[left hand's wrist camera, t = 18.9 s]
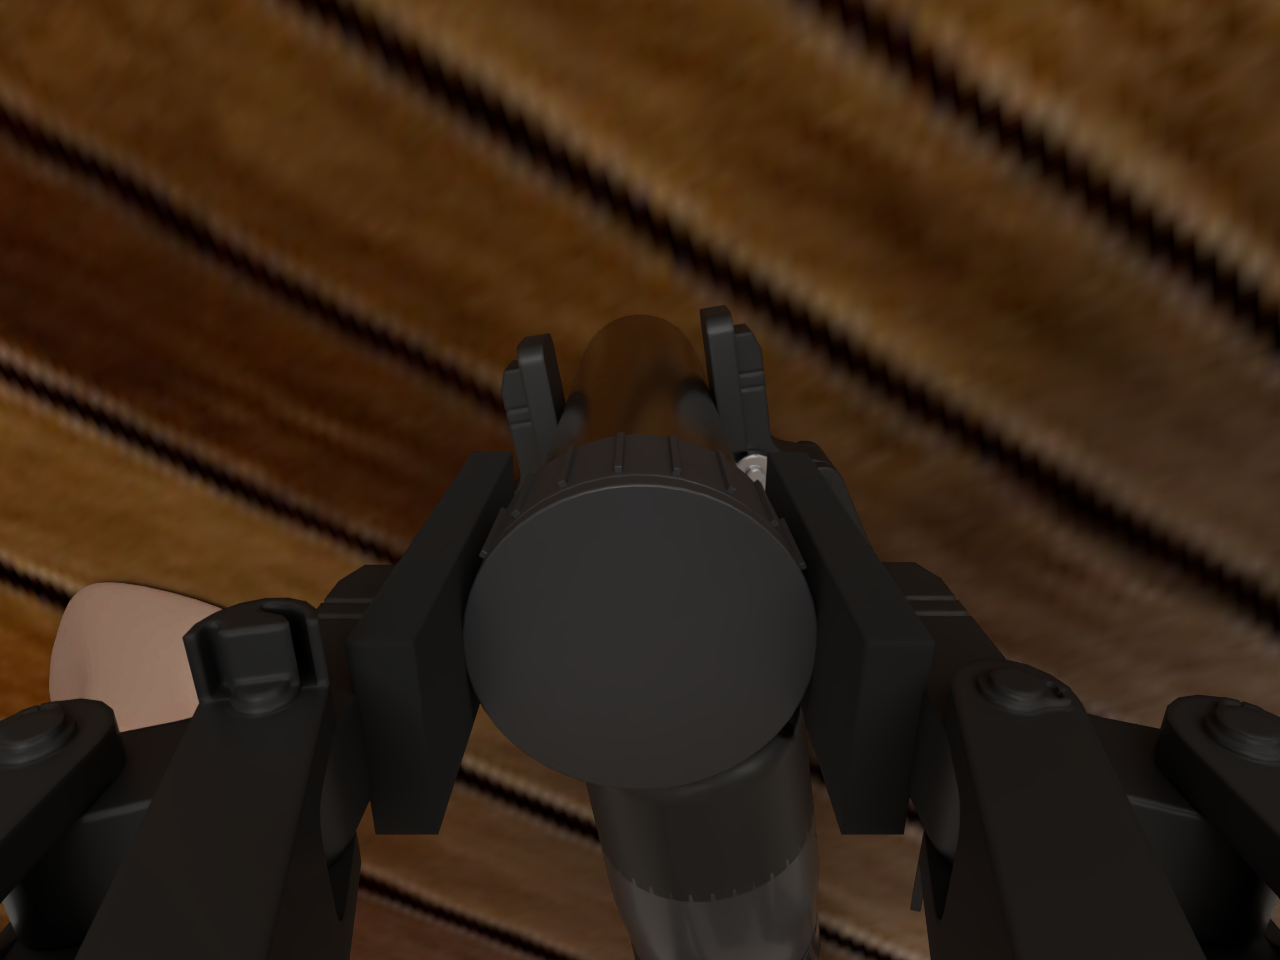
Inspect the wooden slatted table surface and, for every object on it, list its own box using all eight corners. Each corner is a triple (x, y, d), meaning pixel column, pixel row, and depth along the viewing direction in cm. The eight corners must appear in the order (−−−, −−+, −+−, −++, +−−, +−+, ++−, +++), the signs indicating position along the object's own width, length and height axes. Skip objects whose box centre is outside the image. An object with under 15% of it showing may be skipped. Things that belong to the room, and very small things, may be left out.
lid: (843, 491, 12) (886, 553, 10) (721, 734, 13) (736, 829, 11) (541, 384, 11) (518, 425, 9) (453, 651, 13) (417, 737, 11)
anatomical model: (-70, 631, 26) (257, 640, 26) (19, 578, 29) (305, 585, 30) (29, 907, 30) (306, 913, 31) (96, 830, 34) (342, 836, 34)
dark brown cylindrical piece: (576, 422, 27) (486, 724, 11) (588, 307, 26) (505, 469, 10) (689, 437, 28) (755, 754, 12) (707, 323, 26) (813, 508, 10)
